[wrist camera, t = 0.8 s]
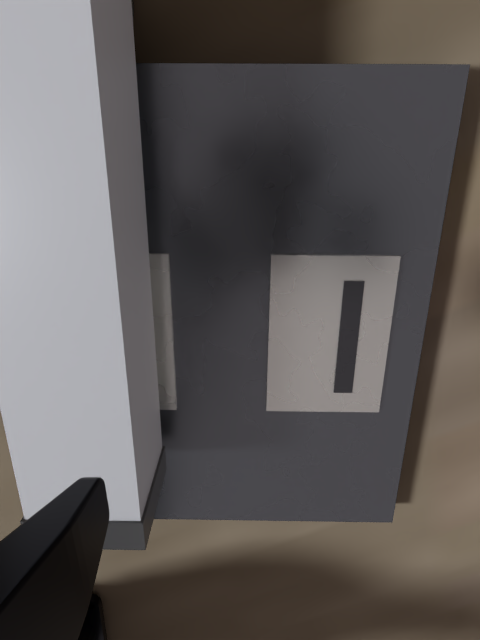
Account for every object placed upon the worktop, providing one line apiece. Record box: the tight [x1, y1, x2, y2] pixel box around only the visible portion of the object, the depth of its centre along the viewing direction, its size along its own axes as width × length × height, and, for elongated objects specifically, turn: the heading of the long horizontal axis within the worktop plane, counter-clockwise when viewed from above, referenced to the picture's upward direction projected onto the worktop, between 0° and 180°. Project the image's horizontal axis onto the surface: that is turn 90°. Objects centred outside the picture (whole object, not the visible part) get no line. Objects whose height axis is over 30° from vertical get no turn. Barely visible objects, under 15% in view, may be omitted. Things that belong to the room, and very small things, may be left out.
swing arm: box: [0, 0, 167, 550], centre depth 13 cm, size 20×4×4 cm, turn 0°
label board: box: [131, 0, 470, 522], centre depth 17 cm, size 24×16×2 cm
